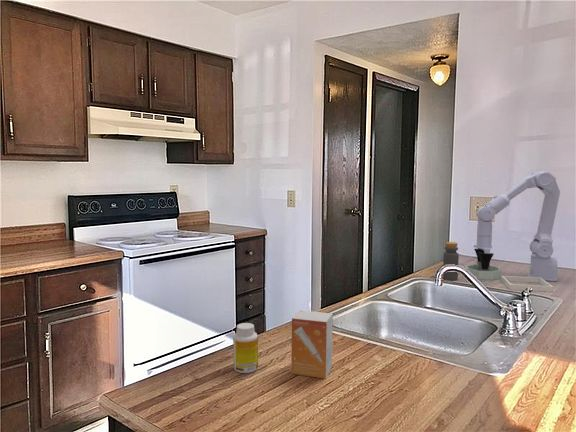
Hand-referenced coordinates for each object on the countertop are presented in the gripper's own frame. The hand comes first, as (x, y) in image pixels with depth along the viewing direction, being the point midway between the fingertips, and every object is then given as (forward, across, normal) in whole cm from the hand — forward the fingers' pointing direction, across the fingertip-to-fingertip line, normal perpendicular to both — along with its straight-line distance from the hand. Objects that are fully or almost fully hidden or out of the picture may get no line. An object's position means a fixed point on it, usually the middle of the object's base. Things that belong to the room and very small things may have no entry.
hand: (482, 267), depth 196 cm
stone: (+3, 0, 0) cm, 3 cm away
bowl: (+4, 0, 0) cm, 4 cm away
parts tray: (+4, +14, +13) cm, 19 cm away
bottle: (+4, +8, -14) cm, 17 cm away
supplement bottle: (+4, +107, -71) cm, 128 cm away
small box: (+4, +105, -56) cm, 119 cm away
